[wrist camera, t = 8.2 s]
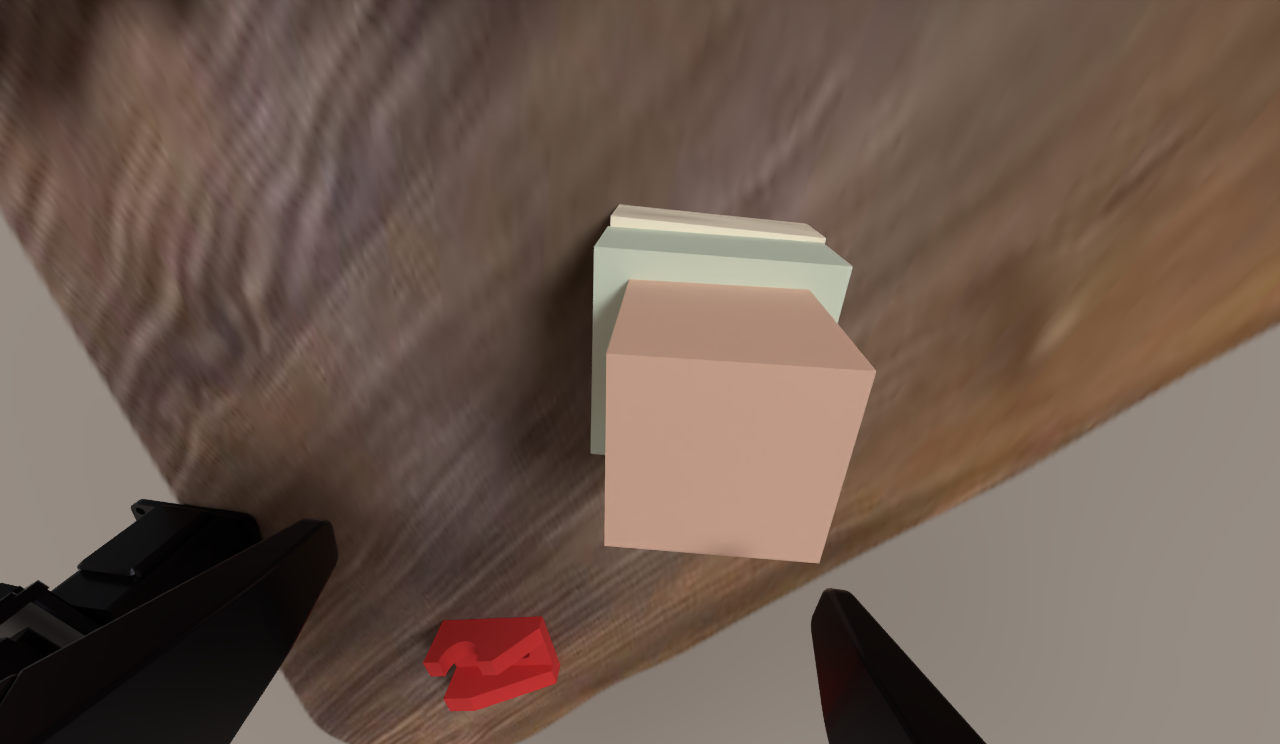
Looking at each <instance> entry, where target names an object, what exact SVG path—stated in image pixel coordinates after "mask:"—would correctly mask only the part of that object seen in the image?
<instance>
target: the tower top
mask: <svg viewBox="0 0 1280 744" xmlns="http://www.w3.org/2000/svg"><path fill="white" fill-rule="evenodd" d="M852 267H853V266H851V265H850V264H849V263H848V262H846V261H845V260H844V259H843V258H841V257H840V256H839V255H838V254H836V253H835V252H834V251H833V250H831V249H830V248H829V247H828V246H826V245H825V244H824V243H823V242H811V241H798V240H784V239H771V238H758V237H745V236H731V235H718V234H705V233H692V232H679V231H665V230H652V229H639V228H626V227H612V226H608V227H607V228H606V230H605V231H604V233H603V234H602V236H601V237H600V239H599V240H598V242H597V243H596V245H595V246H594V281H593V340H592V399H591V454H601V455H605V443H606V353H607V350H608V347H609V343H610V340H611V337H612V334H613V330H614V327H615V324H616V321H617V317H618V314H619V311H620V308H621V304H622V301H623V298H624V295H625V291H626V288H627V285H628V282H629V279H636V280H654V281H671V282H688V283H705V284H722V285H739V286H756V287H773V288H791V289H808V290H810V291H811V292H812V293H813V294H814V296H815V297H816V298H817V299H818V301H819V302H820V303H821V304H822V305H823V307H824V308H825V309H826V310H827V312H828V313H829V314H830V315H831V316H832V318H833V319H834V320H835V321H836V323H838V320H839V316H840V312H841V308H842V305H843V301H844V297H845V293H846V290H847V286H848V282H849V279H850V275H851V271H852Z"/></svg>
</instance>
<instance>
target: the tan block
mask: <svg viewBox="0 0 1280 744" xmlns="http://www.w3.org/2000/svg"><path fill="white" fill-rule="evenodd" d="M875 374H876V370H875V369H874V368H873V367H872V365H871V364H870V363H869V362H868V360H867V359H866V358H865V357H864V356H863V354H862V353H861V352H860V351H859V349H858V348H857V347H856V346H855V345H854V343H853V342H852V341H851V340H850V338H849V337H848V336H847V335H846V334H845V332H844V331H843V330H842V329H841V327H840V326H839V325H838V324H837V323H836V321H835V320H834V319H833V318H832V316H831V315H830V314H829V313H828V312H827V310H826V309H825V308H824V307H823V305H822V304H821V303H820V302H819V301H818V299H817V298H816V297H815V296H814V294H813V293H812V292H811V291H810V290H808V289H791V288H773V287H756V286H739V285H722V284H705V283H688V282H671V281H654V280H636V279H629V282H628V285H627V288H626V291H625V295H624V298H623V301H622V304H621V308H620V311H619V314H618V317H617V321H616V324H615V327H614V330H613V334H612V337H611V340H610V343H609V347H608V350H607V353H606V443H605V546H615V547H627V548H639V549H651V550H664V551H676V552H688V553H700V554H712V555H725V556H737V557H749V558H761V559H774V560H786V561H798V562H810V563H819V562H820V559H821V555H822V552H823V549H824V545H825V542H826V538H827V535H828V532H829V528H830V525H831V522H832V518H833V515H834V512H835V508H836V505H837V502H838V498H839V495H840V491H841V488H842V485H843V481H844V478H845V475H846V471H847V468H848V465H849V461H850V458H851V455H852V451H853V448H854V444H855V441H856V438H857V434H858V431H859V428H860V424H861V421H862V418H863V414H864V411H865V408H866V404H867V401H868V397H869V394H870V391H871V387H872V384H873V381H874V377H875Z"/></svg>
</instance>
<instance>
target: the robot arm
mask: <svg viewBox="0 0 1280 744" xmlns="http://www.w3.org/2000/svg"><path fill="white" fill-rule="evenodd" d="M131 510H132V512H133V514H134V516H135V518H136V522H134V523H133V524H132V525H130V526H129V527H128V528H126V529H125V530H124V531H122V532H121V533H119V534H118V535H117V536H115V537H114V538H113V539H111V540H110V541H109V542H107V543H106V544H104V545H103V546H102V547H100V548H99V549H98V550H96V551H95V552H94V553H92V554H91V555H89V556H88V557H87V558H85V559H84V560H83V561H82V562H81V563H80V564H79V565H78V566H77V568H78V570H79V571H77V572H76V573H75V574H73V575H72V576H71V577H69V578H68V579H67V580H65V581H64V582H63V583H61V584H60V585H59V586H57V587H56V588H55V589H53V590H52V591H49V590H48V588H49V587H48V586H47V585H45V584H44V583H42V582H40V581H39V580H38V581H36V582H34V583H33V584H31V585H29V586H28V587H26V588H22V587H21V586H18V587H17V586H13V585H9V584H4V583H0V744H230V743H231V741H232V740H233V738H234V737H235V735H236V734H237V732H238V731H239V729H240V727H241V726H242V724H243V723H244V721H245V720H246V718H247V717H248V715H249V714H250V712H251V711H252V709H253V707H254V706H255V705H256V703H257V701H258V700H259V698H260V697H261V695H262V694H263V692H264V691H265V689H266V688H267V686H268V685H269V683H270V682H271V680H272V678H273V677H274V675H275V674H276V672H277V671H278V669H279V668H280V666H281V665H282V663H283V661H284V660H285V658H286V657H287V655H288V653H289V652H290V650H291V648H292V646H293V645H294V643H295V641H296V639H297V638H298V636H299V634H300V632H301V630H302V628H303V626H304V624H305V622H306V621H307V619H308V617H309V615H310V613H311V611H312V609H313V607H314V605H315V604H316V602H317V600H318V598H319V596H320V594H321V592H322V590H323V588H324V587H325V585H326V583H327V581H328V579H329V577H330V575H331V573H332V571H333V569H334V567H335V565H336V563H337V559H338V549H337V544H336V540H335V535H334V530H333V526H332V524H331V523H330V522H329V521H327V520H322V519H315V518H305V519H302V520H300V521H298V522H296V523H294V524H292V525H290V526H288V527H287V528H285V529H283V530H281V531H279V532H277V533H275V534H274V535H272V536H270V537H268V538H266V539H264V540H262V541H261V539H260V536H259V533H258V530H257V527H256V524H255V521H254V519H253V518H252V517H251V516H249V515H247V514H243V513H236V512H229V511H222V510H216V509H209V508H202V507H195V506H188V505H181V504H174V503H167V502H160V501H153V500H146V499H141V500H139V501H137V502H136V503H134V504H133V505H132V506H131ZM811 632H812V640H813V647H814V653H815V661H816V669H817V676H818V683H819V690H820V697H821V705H822V711H823V717H824V723H825V727H826V732H827V737H828V741H829V744H986V743H985V742H984V741H983V739H982V738H981V737H980V736H979V735H978V734H977V733H976V732H975V730H974V729H973V728H972V727H971V726H970V725H969V724H968V723H967V722H966V720H965V719H964V718H963V717H962V716H961V715H960V714H959V713H958V712H957V710H956V709H955V708H954V707H953V706H952V705H951V704H950V703H949V702H948V700H947V699H946V698H945V697H944V696H943V695H942V694H941V693H940V691H939V690H938V689H937V688H936V687H935V686H934V685H933V684H932V682H931V681H930V680H929V679H928V678H927V677H926V676H925V675H924V674H923V673H922V672H921V670H920V669H919V668H918V667H917V666H916V665H915V664H914V662H913V661H912V660H911V659H910V658H909V657H908V656H907V655H906V654H905V653H904V651H903V650H902V649H901V648H900V647H899V646H898V645H897V644H896V642H895V641H894V640H893V639H892V638H891V637H890V636H889V635H888V633H887V632H886V631H885V630H884V629H883V628H882V627H881V626H880V624H878V622H877V621H876V620H875V619H874V618H873V617H872V616H871V614H870V613H869V612H868V611H867V610H866V609H865V608H864V607H863V606H862V605H861V603H860V602H859V601H858V600H857V599H856V598H855V597H854V596H853V595H852V594H851V593H850V592H848V591H845V590H840V589H832V588H827V589H826V590H824V592H823V593H822V595H821V598H820V600H819V602H818V605H817V607H816V609H815V612H814V614H813V616H812V620H811Z"/></svg>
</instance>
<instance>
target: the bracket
mask: <svg viewBox="0 0 1280 744" xmlns="http://www.w3.org/2000/svg"><path fill="white" fill-rule="evenodd" d="M454 663H455V665H456V669H455V672H454V674H453V677H452V679H451V682H450V684H449V687H448V689H447V691H446V694H445V696H444V701H445V702H446V704H447V706H448V708H449V709H450V711H476V710H479V709H482V708H485V707H488V706H491V705H493V704H496V703H499V702H502V701H505V700H508V699H511V698H514V697H517V696H520V695H523V694H526V693H529V692H532V691H535V690H538V689H541V688H544V687H547V686H550V685H553V684H556V682H557V678H558V673H559V669H560V663H559V661H558V658H557V655H556V653H555V650H554V647H553V644H552V642H551V639H550V636H549V633H548V631H547V628H546V625H545V622H544V620H543V617H542V616H541V617H517V618H493V619H469V620H444V621H443V622H442V624H441V626H440V628H439V630H438V632H437V634H436V637H435V639H434V641H433V643H432V645H431V647H430V649H429V651H428V653H427V656H426V658H425V660H424V662H423V664H424V666H425V667H426V669H427V671H428V673H429V674H430V676H446V674H447V672H448V670H449V669H450V667H451V666H452V665H453V664H454Z"/></svg>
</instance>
